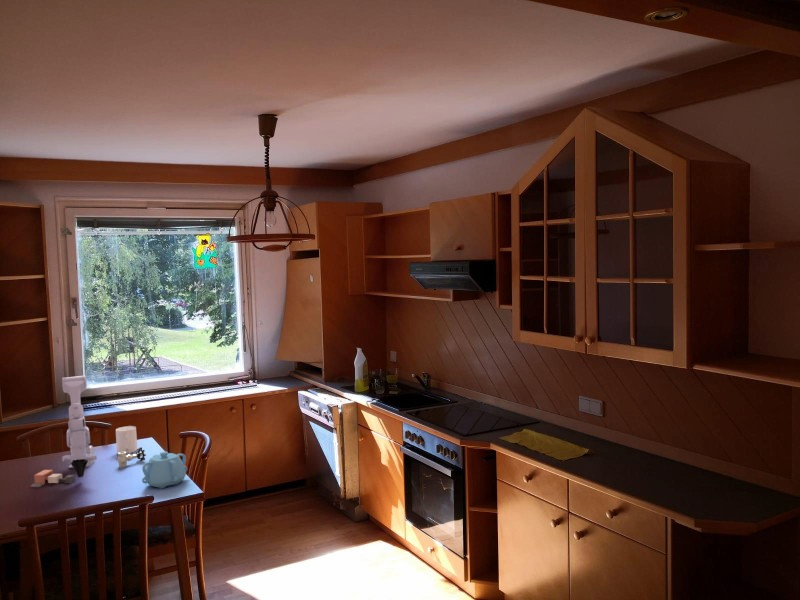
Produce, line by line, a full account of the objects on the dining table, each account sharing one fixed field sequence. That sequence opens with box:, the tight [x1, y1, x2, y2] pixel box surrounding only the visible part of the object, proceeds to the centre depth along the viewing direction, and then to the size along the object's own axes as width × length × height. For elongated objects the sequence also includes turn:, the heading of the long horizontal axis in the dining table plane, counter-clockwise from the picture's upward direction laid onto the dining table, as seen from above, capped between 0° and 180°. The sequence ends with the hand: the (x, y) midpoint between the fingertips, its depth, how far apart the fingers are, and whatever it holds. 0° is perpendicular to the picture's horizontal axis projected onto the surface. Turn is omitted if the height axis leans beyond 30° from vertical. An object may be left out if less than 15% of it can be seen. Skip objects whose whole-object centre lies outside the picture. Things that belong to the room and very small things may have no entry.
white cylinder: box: [115, 425, 138, 455], centre depth 330 cm, size 10×12×12 cm
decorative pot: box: [141, 451, 188, 489], centre depth 280 cm, size 16×16×14 cm
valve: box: [117, 446, 147, 468], centre depth 310 cm, size 7×7×12 cm
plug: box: [47, 473, 76, 484], centre depth 288 cm, size 10×4×3 cm, turn 85°
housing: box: [30, 469, 54, 488], centre depth 289 cm, size 4×13×4 cm, turn 175°
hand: (80, 476), depth 287 cm, fingers closed
